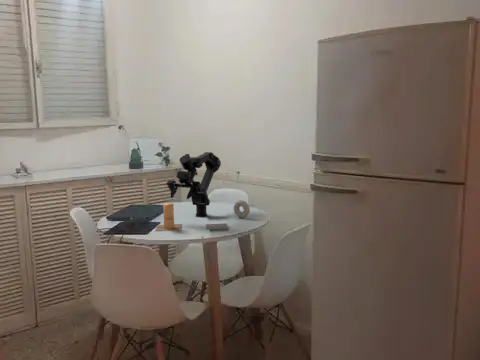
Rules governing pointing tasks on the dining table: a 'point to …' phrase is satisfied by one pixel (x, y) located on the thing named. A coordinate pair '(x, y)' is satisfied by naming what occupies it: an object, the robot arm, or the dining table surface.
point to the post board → (176, 228)
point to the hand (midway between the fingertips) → (179, 198)
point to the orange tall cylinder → (168, 216)
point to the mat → (217, 227)
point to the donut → (245, 207)
